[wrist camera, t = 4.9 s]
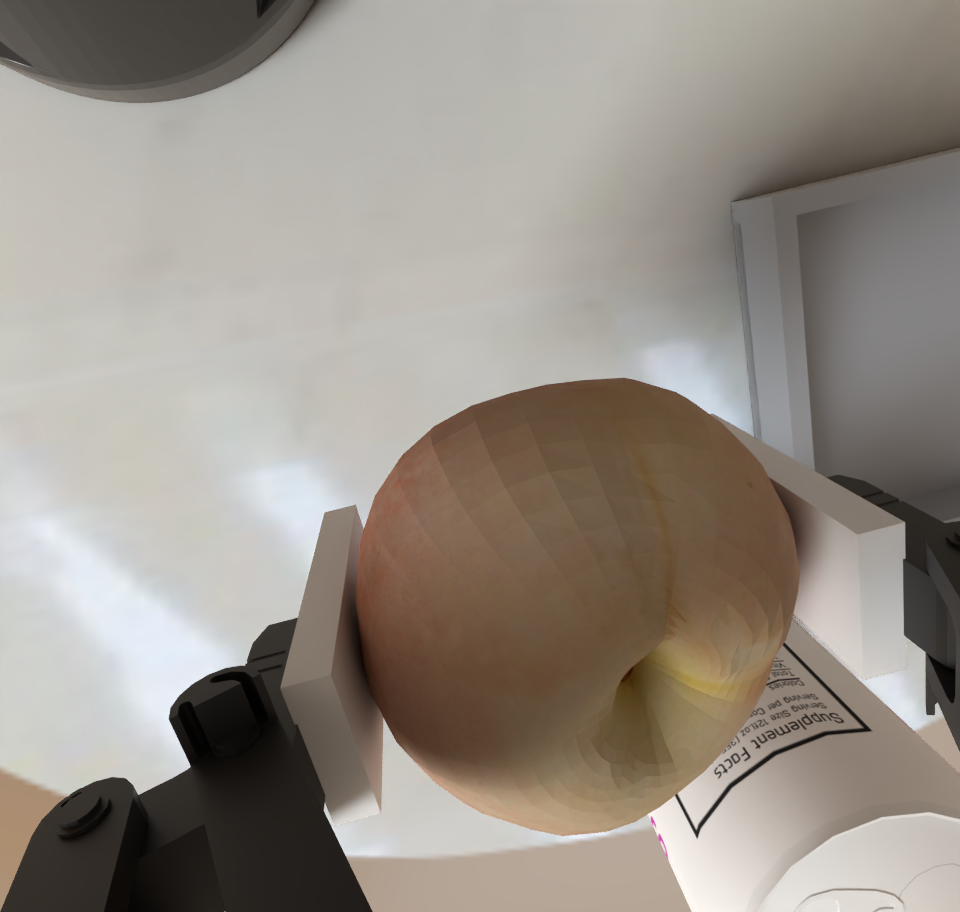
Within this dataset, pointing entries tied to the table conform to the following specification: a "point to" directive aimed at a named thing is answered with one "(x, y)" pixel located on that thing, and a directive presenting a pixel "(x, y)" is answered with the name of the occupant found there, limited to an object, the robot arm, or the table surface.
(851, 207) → the tray
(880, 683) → the table surface
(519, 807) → the fruit
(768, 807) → the supplement can
